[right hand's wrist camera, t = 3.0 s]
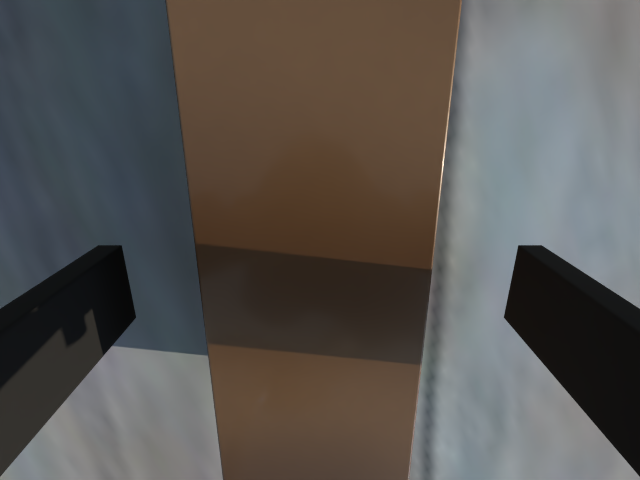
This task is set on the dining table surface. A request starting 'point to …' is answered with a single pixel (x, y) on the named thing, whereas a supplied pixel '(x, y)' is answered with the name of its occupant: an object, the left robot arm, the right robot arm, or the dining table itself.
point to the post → (314, 221)
